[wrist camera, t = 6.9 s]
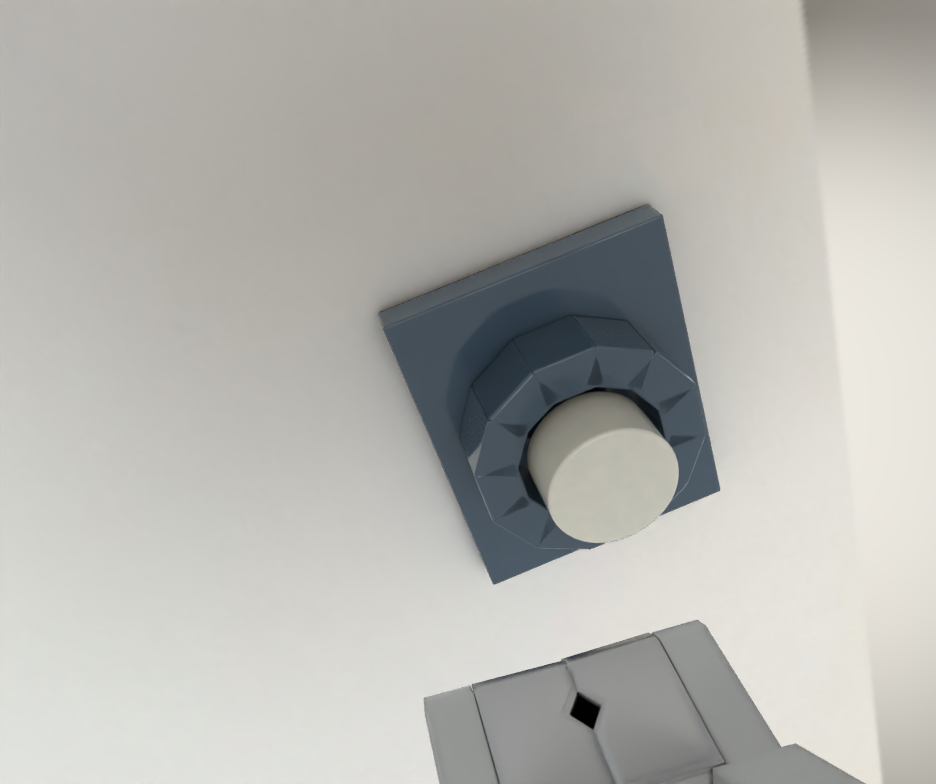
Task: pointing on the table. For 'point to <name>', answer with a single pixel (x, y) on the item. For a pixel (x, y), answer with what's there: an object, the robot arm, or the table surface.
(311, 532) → the table surface
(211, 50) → the table surface
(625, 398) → the cream button cap
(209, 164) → the table surface
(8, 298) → the table surface
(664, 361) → the mounted push button
